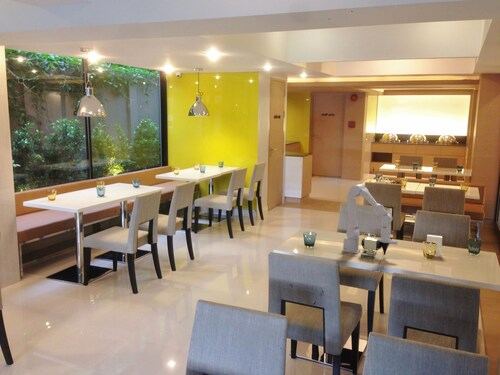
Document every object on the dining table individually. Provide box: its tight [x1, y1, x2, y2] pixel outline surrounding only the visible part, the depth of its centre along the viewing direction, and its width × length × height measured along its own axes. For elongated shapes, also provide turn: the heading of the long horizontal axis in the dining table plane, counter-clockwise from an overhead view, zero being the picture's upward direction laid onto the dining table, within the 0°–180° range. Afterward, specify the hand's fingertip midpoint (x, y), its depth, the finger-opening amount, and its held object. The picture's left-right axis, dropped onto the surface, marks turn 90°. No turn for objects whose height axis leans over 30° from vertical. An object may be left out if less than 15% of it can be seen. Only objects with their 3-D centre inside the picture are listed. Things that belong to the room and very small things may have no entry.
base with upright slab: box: [426, 234, 443, 257], centre depth 287 cm, size 9×9×12 cm
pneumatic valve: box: [360, 236, 382, 257], centre depth 282 cm, size 6×12×12 cm, turn 54°
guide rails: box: [360, 249, 377, 259], centre depth 283 cm, size 8×11×2 cm
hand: (384, 254), depth 279 cm, fingers closed
